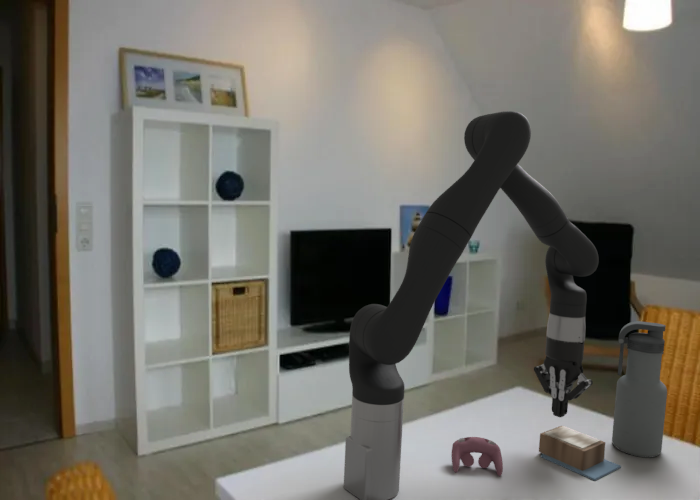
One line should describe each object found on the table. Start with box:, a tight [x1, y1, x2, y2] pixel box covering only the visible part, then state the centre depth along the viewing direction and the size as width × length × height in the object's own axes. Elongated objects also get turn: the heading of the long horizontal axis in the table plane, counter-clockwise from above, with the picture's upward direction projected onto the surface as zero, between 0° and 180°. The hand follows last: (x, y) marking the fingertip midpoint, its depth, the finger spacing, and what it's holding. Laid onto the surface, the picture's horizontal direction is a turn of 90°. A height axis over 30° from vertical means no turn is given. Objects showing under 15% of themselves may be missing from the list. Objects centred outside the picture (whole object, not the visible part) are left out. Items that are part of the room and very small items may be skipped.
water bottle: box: [611, 320, 668, 458], centre depth 124 cm, size 10×10×28 cm
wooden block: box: [538, 425, 606, 471], centre depth 119 cm, size 8×4×10 cm
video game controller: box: [450, 436, 504, 477], centre depth 113 cm, size 10×5×7 cm, turn 85°
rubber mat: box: [540, 453, 622, 482], centre depth 117 cm, size 10×12×1 cm
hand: (559, 415), depth 121 cm, fingers closed
